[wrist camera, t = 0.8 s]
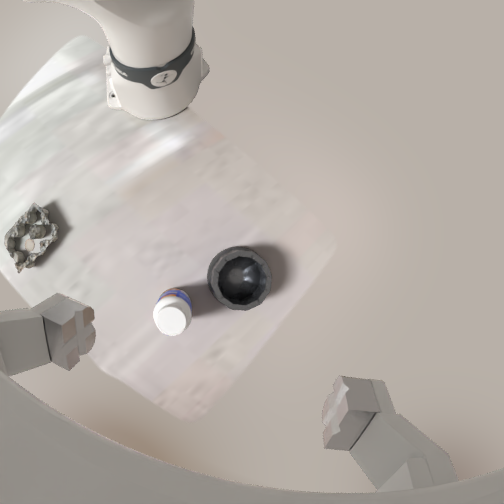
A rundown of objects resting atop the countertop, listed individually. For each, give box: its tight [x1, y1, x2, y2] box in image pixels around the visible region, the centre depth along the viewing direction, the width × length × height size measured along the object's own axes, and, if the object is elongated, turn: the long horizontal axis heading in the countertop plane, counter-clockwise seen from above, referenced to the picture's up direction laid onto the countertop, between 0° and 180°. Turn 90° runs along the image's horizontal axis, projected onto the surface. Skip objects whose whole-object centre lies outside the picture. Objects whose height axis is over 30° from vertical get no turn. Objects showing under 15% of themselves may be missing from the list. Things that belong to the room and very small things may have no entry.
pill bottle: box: [153, 288, 192, 336], centre depth 41 cm, size 5×5×10 cm
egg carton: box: [4, 203, 59, 273], centre depth 38 cm, size 11×8×4 cm
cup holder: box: [207, 247, 272, 311], centre depth 45 cm, size 10×10×5 cm
